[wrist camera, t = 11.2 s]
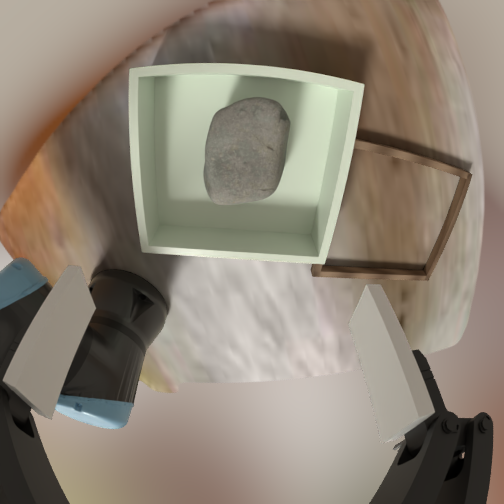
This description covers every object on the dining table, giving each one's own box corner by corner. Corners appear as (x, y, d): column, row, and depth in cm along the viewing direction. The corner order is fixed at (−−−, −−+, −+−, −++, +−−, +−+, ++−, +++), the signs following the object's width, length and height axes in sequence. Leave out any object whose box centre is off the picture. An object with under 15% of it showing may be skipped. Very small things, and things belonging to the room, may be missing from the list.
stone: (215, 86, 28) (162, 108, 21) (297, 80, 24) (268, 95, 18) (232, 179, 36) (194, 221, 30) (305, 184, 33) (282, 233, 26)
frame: (310, 269, 40) (312, 276, 39) (340, 135, 29) (344, 137, 28) (424, 275, 41) (428, 280, 40) (466, 170, 30) (472, 174, 29)
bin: (155, 228, 36) (141, 252, 31) (149, 69, 24) (129, 68, 19) (315, 238, 37) (324, 264, 32) (345, 83, 25) (364, 84, 20)
